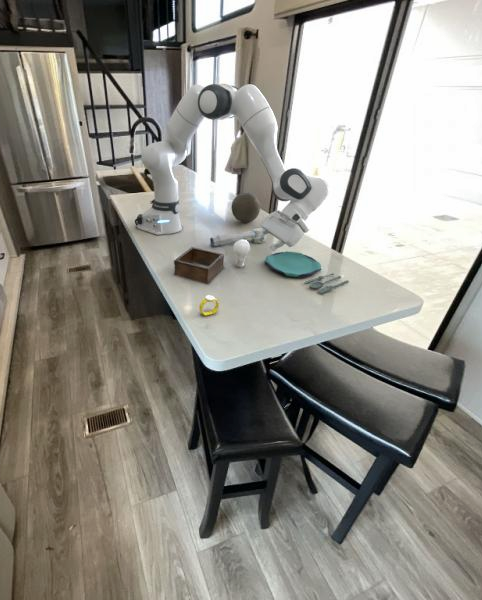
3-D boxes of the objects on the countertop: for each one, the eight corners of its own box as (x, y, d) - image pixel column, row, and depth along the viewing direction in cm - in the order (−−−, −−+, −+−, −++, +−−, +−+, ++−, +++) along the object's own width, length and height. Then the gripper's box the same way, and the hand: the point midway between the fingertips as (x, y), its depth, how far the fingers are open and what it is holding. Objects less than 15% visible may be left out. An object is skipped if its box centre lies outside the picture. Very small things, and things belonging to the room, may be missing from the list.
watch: (201, 318, 94) (202, 302, 91) (197, 313, 96) (198, 297, 93) (219, 314, 96) (220, 297, 93) (215, 309, 99) (216, 293, 95)
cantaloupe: (235, 216, 172) (238, 188, 164) (261, 220, 167) (265, 191, 159) (226, 224, 162) (228, 195, 154) (253, 229, 157) (257, 198, 148)
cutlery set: (293, 252, 134) (294, 247, 133) (353, 284, 112) (354, 278, 111) (255, 262, 126) (256, 256, 125) (312, 298, 104) (313, 292, 103)
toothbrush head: (209, 235, 139) (262, 223, 142) (210, 249, 143) (262, 237, 146) (212, 239, 135) (267, 227, 138) (214, 253, 139) (267, 241, 142)
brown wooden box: (174, 274, 117) (173, 260, 114) (191, 260, 127) (192, 246, 124) (207, 284, 112) (208, 269, 108) (223, 268, 122) (224, 254, 119)
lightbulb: (228, 264, 124) (230, 238, 118) (242, 262, 126) (245, 235, 120) (236, 271, 119) (239, 244, 113) (251, 268, 121) (254, 242, 115)
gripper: (272, 203, 125) (248, 230, 128) (304, 220, 109) (274, 250, 111) (281, 214, 128) (256, 239, 131) (312, 231, 112) (283, 260, 115)
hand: (265, 244), depth 121 cm, fingers open, 8 cm apart
